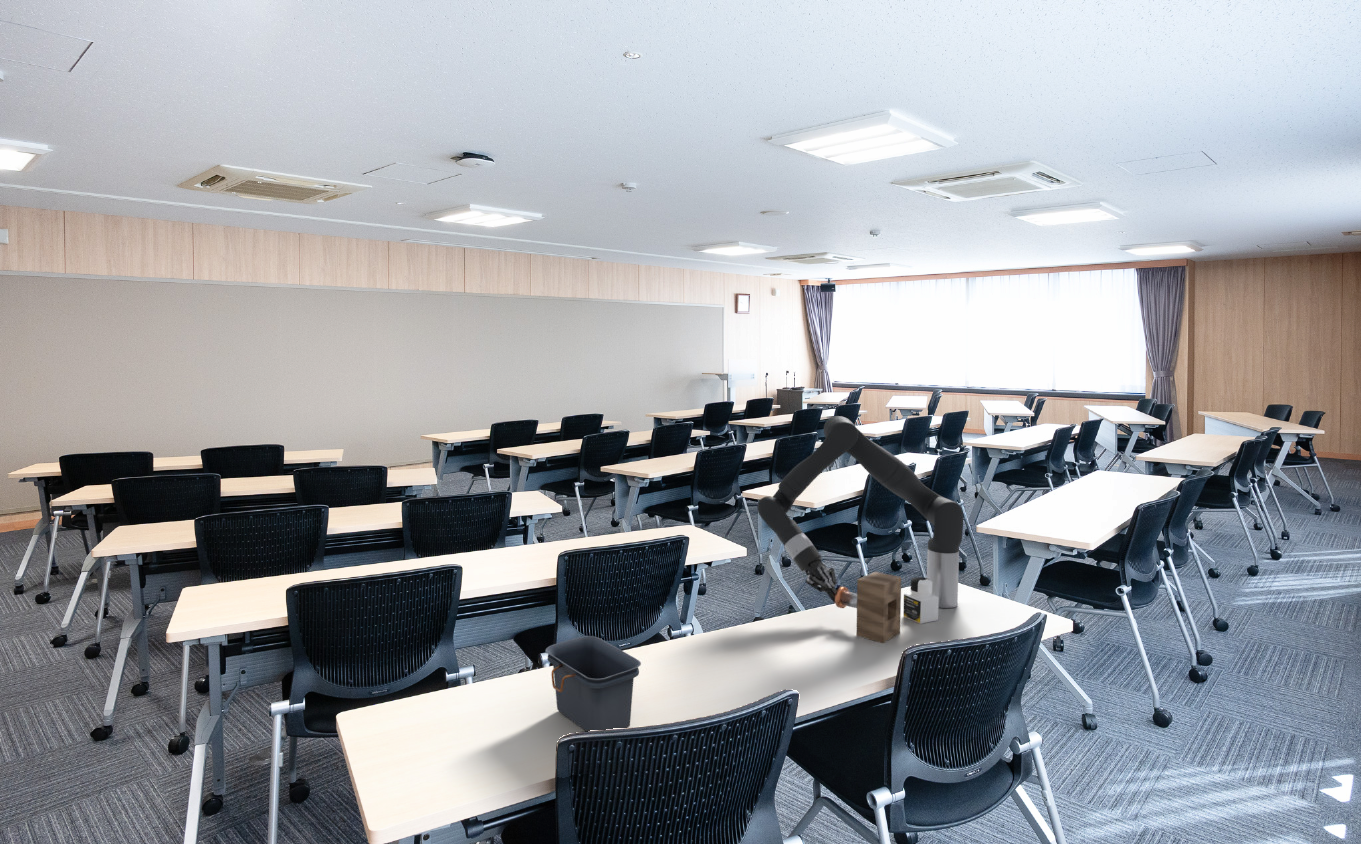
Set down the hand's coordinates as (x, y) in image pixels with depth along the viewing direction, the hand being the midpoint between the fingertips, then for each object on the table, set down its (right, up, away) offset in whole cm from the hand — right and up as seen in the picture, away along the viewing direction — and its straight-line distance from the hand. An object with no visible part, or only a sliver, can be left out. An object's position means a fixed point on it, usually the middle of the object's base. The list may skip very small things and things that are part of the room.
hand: (838, 600), depth 216 cm
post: (+9, -7, -8) cm, 15 cm away
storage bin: (-65, -12, -57) cm, 88 cm away
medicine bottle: (+25, -7, +4) cm, 26 cm away
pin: (+5, -2, -5) cm, 8 cm away
